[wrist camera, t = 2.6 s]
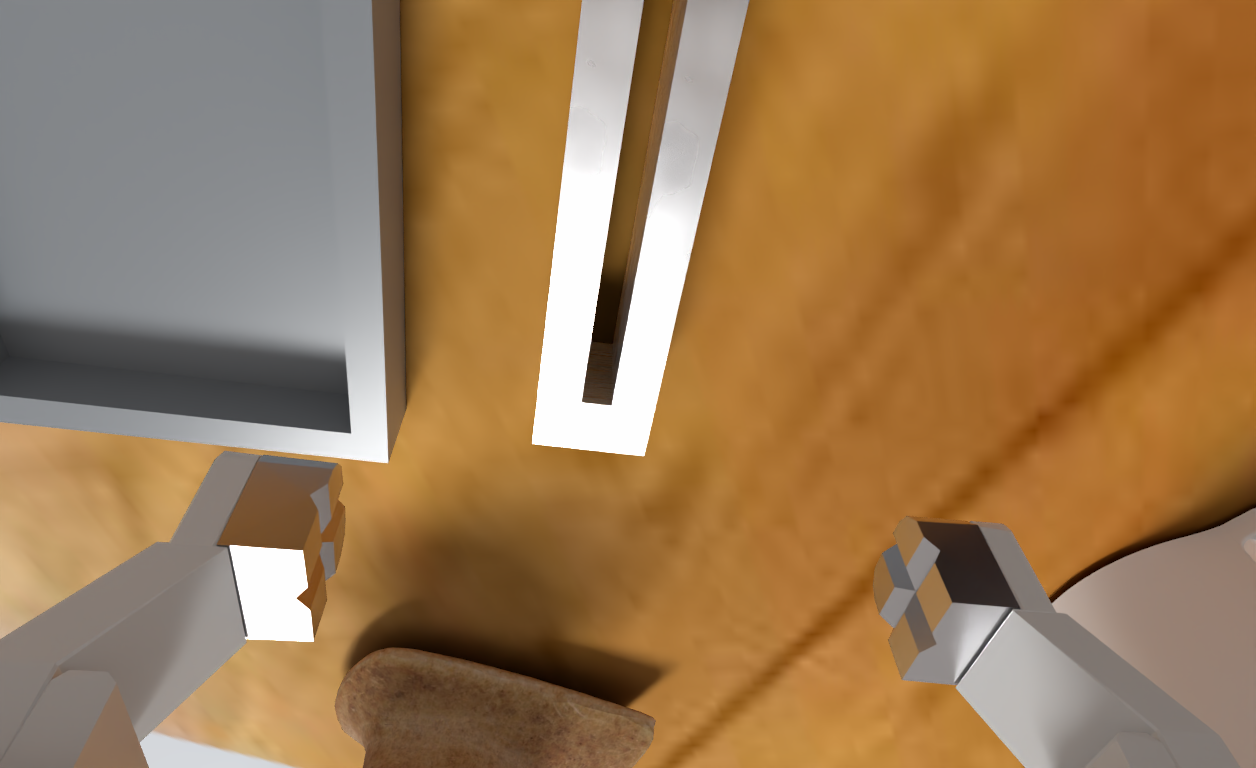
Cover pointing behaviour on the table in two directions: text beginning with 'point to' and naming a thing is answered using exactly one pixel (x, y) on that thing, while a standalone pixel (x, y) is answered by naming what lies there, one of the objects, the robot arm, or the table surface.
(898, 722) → the table surface
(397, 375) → the utensil tray
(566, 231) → the steel tongs
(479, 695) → the stone cup
